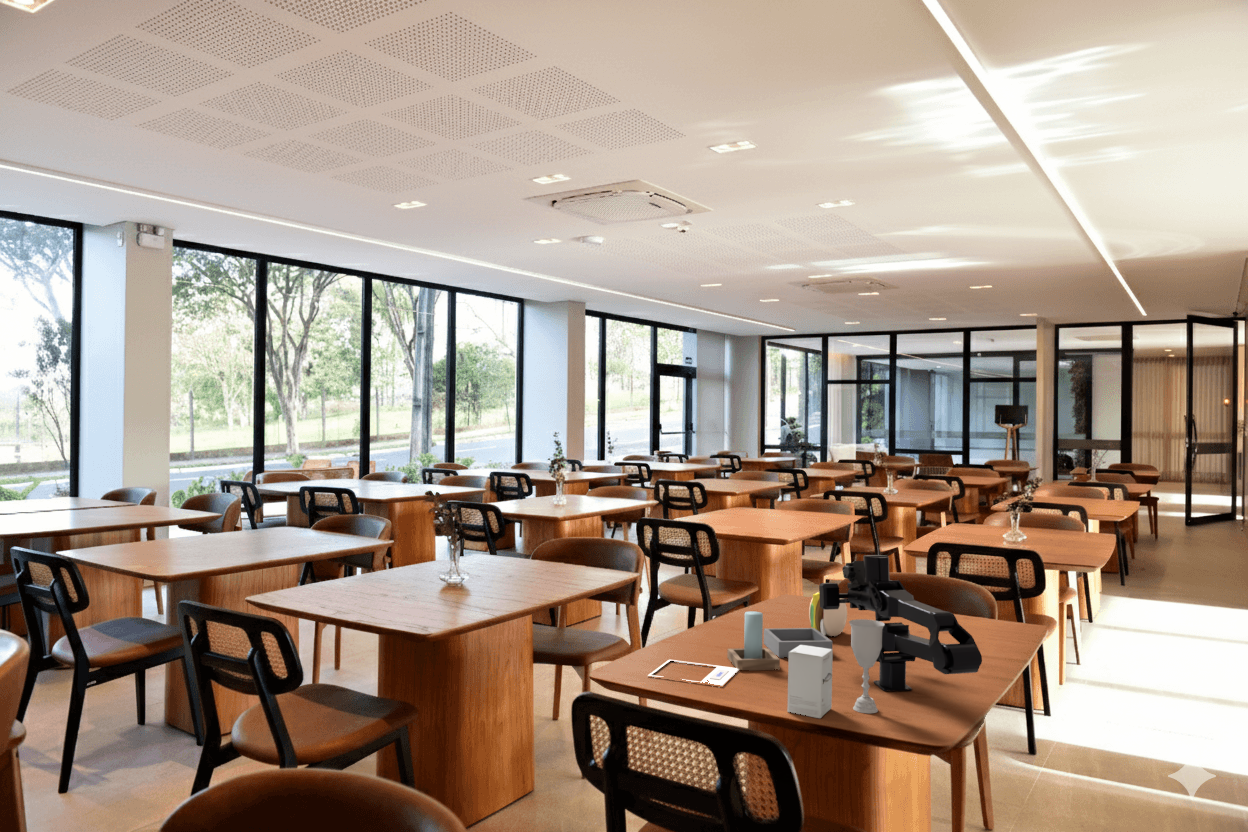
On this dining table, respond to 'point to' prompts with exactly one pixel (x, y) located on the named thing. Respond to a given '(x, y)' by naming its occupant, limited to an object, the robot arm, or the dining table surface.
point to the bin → (793, 639)
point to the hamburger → (827, 617)
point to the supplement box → (810, 681)
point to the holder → (753, 660)
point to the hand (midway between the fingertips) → (840, 591)
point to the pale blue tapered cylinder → (753, 635)
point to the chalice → (866, 656)
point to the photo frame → (715, 677)
